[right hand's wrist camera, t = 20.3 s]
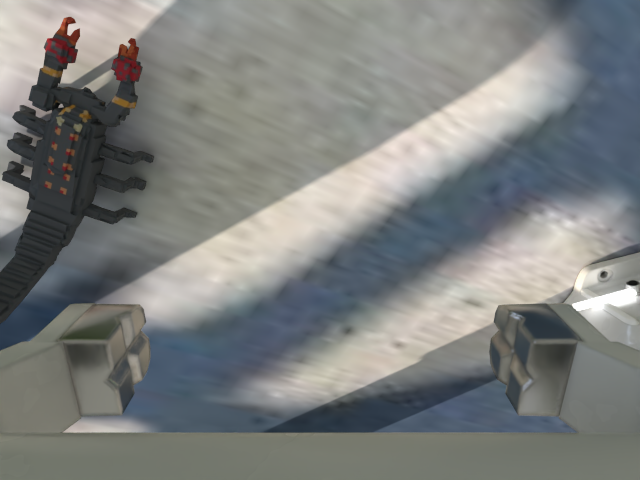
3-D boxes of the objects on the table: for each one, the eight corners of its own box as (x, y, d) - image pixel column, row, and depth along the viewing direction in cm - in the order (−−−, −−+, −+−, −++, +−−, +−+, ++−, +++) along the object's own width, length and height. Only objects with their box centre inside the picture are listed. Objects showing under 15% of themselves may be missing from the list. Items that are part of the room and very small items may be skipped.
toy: (-3, 241, 49) (-175, 332, 32) (44, -7, 41) (-157, -62, 23) (114, 285, 51) (11, 392, 34) (184, 57, 42) (92, 48, 25)
